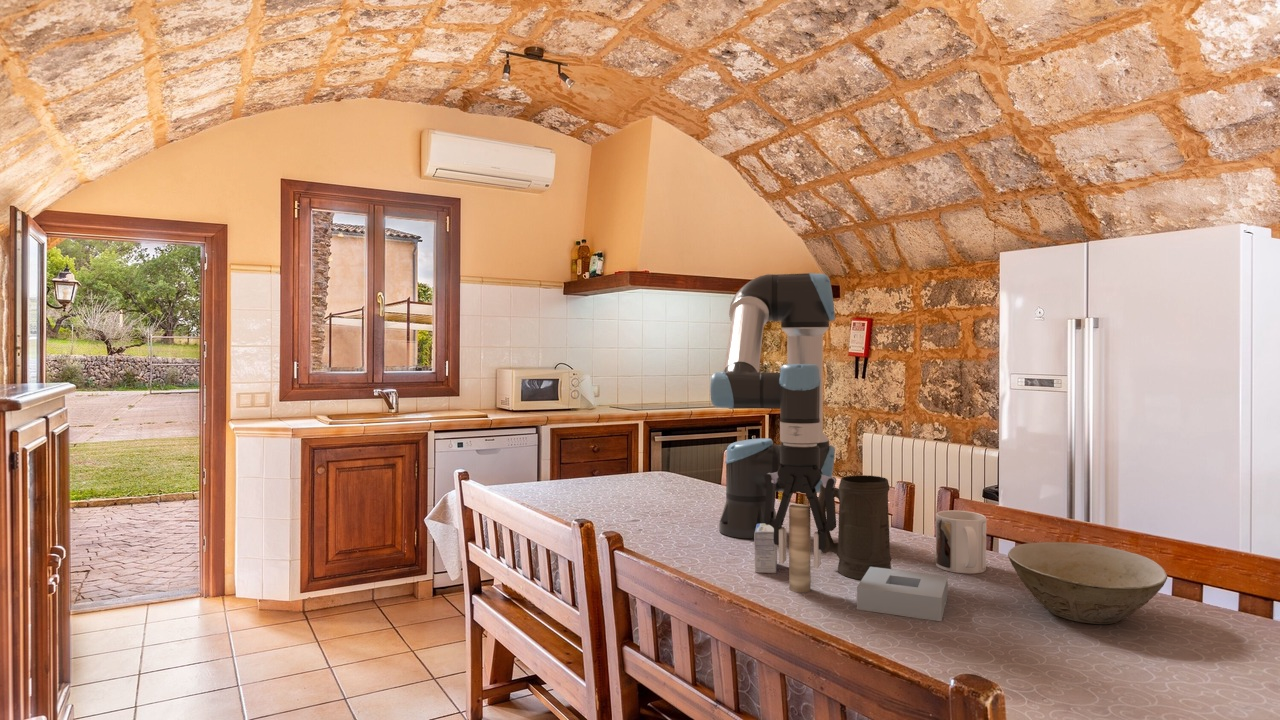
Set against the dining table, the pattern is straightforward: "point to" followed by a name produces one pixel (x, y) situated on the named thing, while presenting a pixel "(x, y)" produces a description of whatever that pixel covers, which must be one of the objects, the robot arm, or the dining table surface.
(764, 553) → the medicine box
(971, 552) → the mug
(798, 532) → the beech peg
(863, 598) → the socket block
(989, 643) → the dining table surface
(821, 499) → the beer stein
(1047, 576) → the bowl
